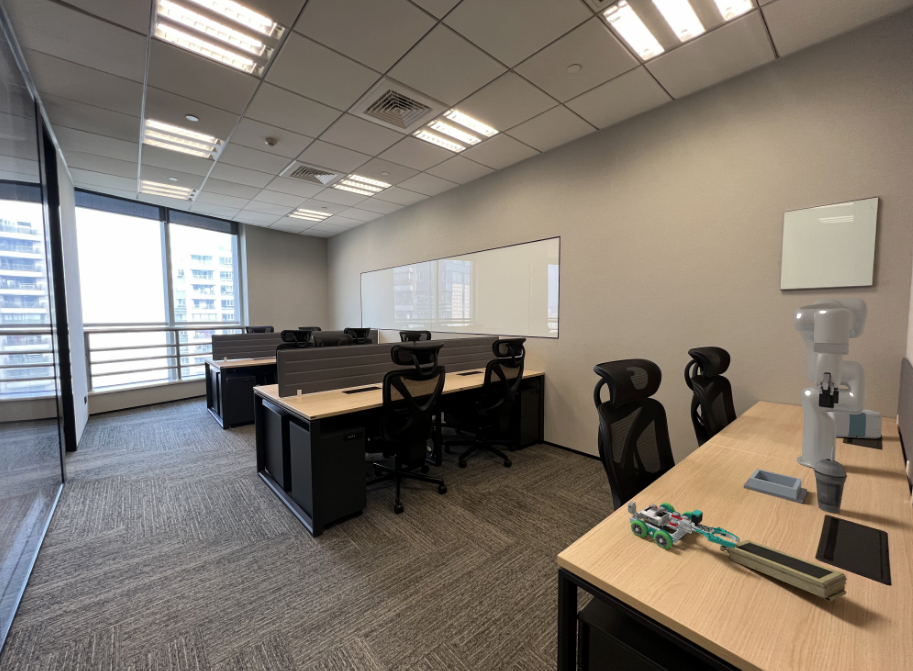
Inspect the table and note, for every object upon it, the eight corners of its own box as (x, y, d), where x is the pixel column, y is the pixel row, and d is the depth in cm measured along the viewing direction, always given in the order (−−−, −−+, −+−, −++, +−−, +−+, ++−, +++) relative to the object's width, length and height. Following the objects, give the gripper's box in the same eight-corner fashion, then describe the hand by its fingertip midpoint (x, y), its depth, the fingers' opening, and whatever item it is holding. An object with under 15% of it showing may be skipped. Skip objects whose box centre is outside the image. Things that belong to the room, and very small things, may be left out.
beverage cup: (836, 505, 115) (838, 442, 114) (852, 517, 108) (854, 450, 108) (807, 502, 118) (809, 440, 117) (820, 513, 111) (823, 448, 110)
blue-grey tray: (751, 478, 136) (751, 467, 136) (807, 492, 124) (807, 480, 124) (743, 487, 128) (744, 476, 128) (802, 503, 117) (803, 491, 116)
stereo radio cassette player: (832, 438, 181) (834, 397, 180) (819, 433, 189) (820, 394, 189) (882, 440, 178) (884, 399, 177) (866, 434, 186) (868, 395, 185)
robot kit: (723, 580, 83) (724, 539, 83) (619, 529, 103) (619, 497, 103) (751, 549, 94) (752, 514, 93) (652, 509, 114) (652, 480, 114)
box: (830, 610, 72) (826, 583, 73) (713, 561, 93) (711, 540, 93) (852, 599, 75) (847, 573, 76) (734, 554, 96) (731, 533, 96)
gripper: (818, 347, 120) (816, 399, 121) (808, 350, 109) (806, 407, 110) (851, 348, 114) (849, 403, 115) (844, 351, 103) (842, 411, 104)
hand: (828, 405), depth 112 cm, fingers open, 9 cm apart
